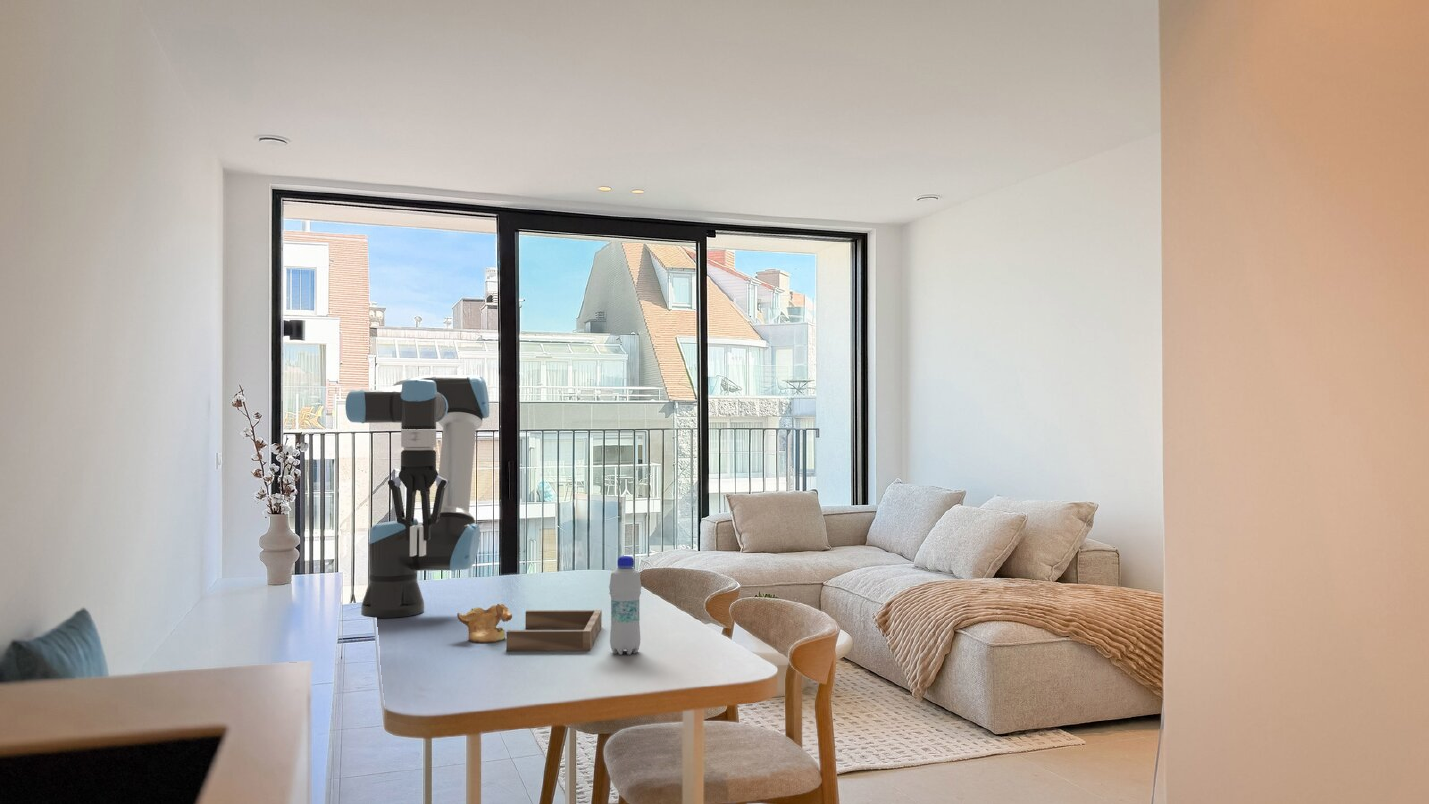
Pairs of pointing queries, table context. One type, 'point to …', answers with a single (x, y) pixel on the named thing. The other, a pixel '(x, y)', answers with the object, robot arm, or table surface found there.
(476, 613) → the golden dog figurine
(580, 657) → the table surface
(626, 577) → the bottle
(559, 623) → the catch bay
